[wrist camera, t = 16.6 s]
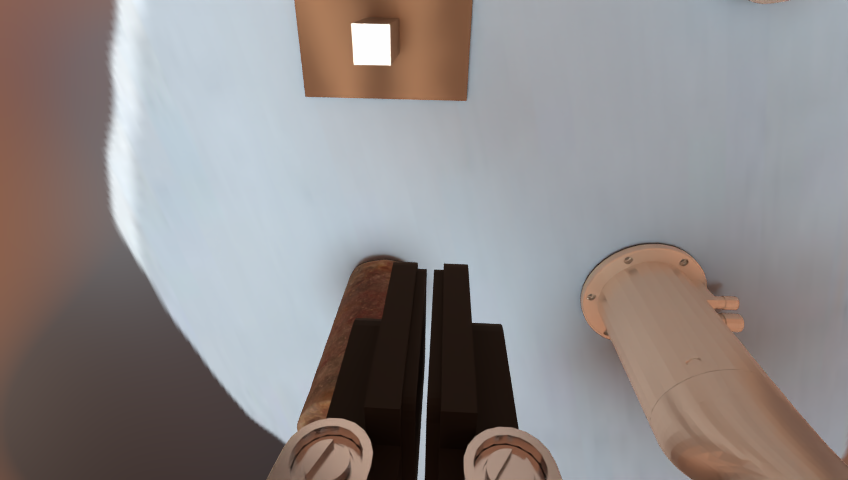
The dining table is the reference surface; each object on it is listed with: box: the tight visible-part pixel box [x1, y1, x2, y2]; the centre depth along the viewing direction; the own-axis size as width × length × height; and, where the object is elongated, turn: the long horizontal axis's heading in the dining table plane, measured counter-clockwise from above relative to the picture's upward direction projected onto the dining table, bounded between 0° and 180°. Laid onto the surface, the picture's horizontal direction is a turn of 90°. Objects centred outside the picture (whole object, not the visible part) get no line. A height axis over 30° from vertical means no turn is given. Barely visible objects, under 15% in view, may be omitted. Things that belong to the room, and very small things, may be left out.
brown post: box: [351, 17, 400, 66], centre depth 33 cm, size 3×3×6 cm
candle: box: [297, 260, 397, 431], centre depth 41 cm, size 8×7×20 cm
